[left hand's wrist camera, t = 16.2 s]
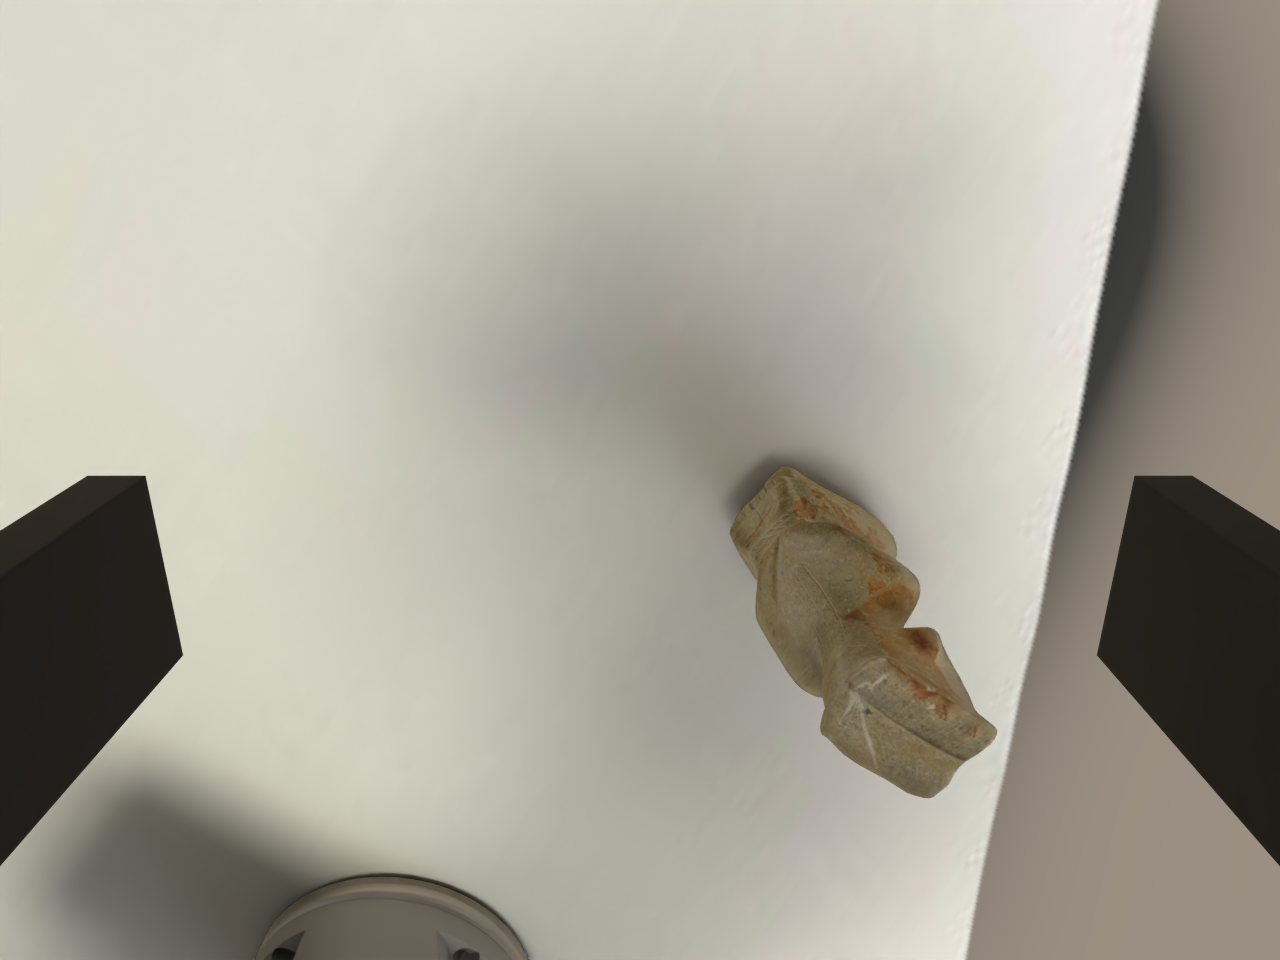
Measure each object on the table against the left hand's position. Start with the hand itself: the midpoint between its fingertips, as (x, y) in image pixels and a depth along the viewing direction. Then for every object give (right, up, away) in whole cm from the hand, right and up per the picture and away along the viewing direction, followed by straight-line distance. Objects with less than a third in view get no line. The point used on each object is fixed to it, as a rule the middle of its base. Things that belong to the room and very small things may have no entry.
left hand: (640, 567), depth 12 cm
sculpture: (+7, -1, +29) cm, 30 cm away
